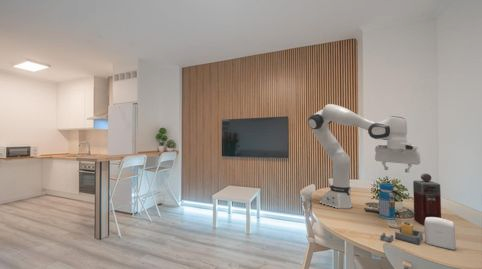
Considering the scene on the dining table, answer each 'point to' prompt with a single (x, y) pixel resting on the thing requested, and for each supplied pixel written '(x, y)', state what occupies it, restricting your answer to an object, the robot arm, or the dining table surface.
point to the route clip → (386, 238)
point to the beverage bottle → (386, 202)
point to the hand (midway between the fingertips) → (396, 171)
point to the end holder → (410, 237)
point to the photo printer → (440, 232)
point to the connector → (407, 228)
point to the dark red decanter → (426, 199)
